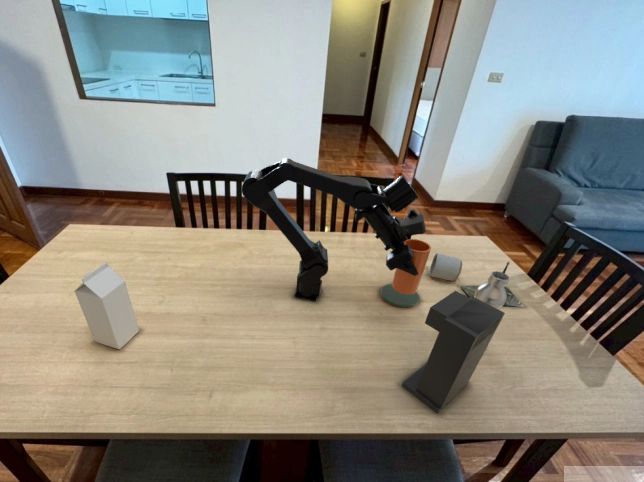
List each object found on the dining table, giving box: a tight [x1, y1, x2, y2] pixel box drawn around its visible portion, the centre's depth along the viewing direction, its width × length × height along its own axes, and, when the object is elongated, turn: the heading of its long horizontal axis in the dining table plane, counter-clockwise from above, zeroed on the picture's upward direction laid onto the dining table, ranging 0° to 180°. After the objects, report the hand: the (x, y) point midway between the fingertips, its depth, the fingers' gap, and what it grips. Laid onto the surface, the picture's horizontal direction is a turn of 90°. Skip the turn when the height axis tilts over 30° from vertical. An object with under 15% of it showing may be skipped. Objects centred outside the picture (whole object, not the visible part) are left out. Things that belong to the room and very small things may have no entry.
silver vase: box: [460, 259, 525, 308], centre depth 102 cm, size 15×10×13 cm
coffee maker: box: [401, 290, 506, 414], centre depth 72 cm, size 10×12×21 cm
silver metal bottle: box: [474, 270, 510, 311], centre depth 84 cm, size 6×7×20 cm
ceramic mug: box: [428, 252, 463, 282], centre depth 113 cm, size 11×8×8 cm
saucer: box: [380, 283, 420, 309], centre depth 104 cm, size 11×11×1 cm
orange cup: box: [391, 238, 432, 294], centre depth 94 cm, size 7×7×13 cm
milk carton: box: [74, 261, 140, 350], centre depth 80 cm, size 7×7×19 cm
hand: (416, 267), depth 93 cm, fingers closed on orange cup, 7 cm apart
